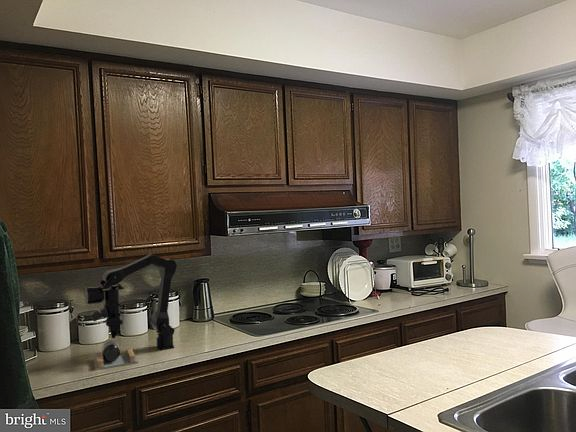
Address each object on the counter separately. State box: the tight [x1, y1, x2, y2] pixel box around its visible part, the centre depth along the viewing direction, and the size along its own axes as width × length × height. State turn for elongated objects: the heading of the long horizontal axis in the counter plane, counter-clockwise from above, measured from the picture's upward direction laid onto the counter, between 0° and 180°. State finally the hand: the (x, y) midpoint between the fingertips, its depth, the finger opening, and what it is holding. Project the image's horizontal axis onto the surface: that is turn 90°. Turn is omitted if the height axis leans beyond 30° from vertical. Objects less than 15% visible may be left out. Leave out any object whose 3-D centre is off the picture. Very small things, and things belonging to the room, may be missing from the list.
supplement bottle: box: [101, 339, 121, 362], centre depth 193 cm, size 7×7×12 cm
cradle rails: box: [95, 347, 136, 368], centre depth 192 cm, size 14×13×2 cm
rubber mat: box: [93, 353, 139, 371], centre depth 192 cm, size 16×13×1 cm
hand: (113, 338), depth 197 cm, fingers closed
